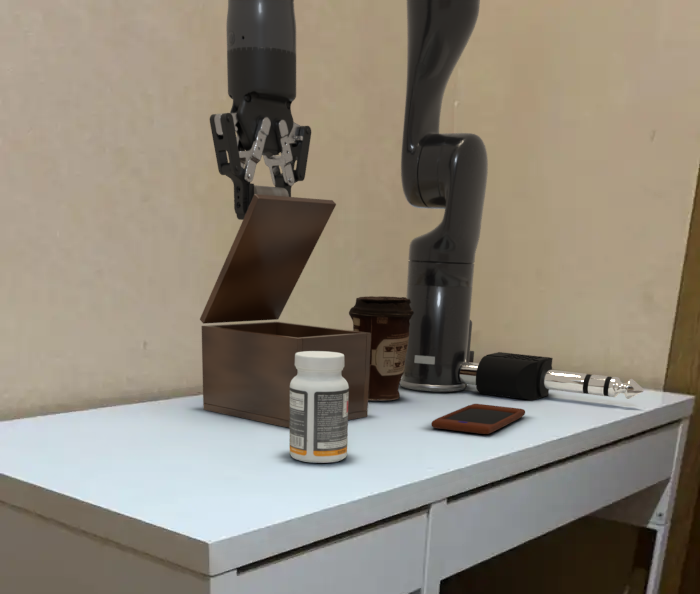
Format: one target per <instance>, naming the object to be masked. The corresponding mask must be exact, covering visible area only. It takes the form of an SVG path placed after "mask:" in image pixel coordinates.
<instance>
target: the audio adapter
mask: <svg viewBox="0 0 700 594" xmlns="http://www.w3.org/2000/svg"><path fill="white" fill-rule="evenodd" d="M459 378H460V382H461V383H462V384H467V385H469V386H470V385H471V386H475V387H476V390H477V392H478V394H481V395H489V396H496V397H505V398H511V399H518V400H519V399H520V400H527V401H535V400H539V399H543V398H544V397H547V396H549V391H557V392H558V391H559V392H568V393H575V394H581V395H582V394H585V395H592V396H599V397H609V398H616V397H618V396H619V394H623V395H624V396H625V399H626V400H630V399H632V398H634V397H636V396H638V395H640V394H642V393H643V392H644V388H643V387H642V386H641V385H640V384H639V383H638V382H637V381H635V380H634V379H633V378H630V379H628V381H627V382H622V381H621V379H620V377H618V376H609V375H603V374H602V375H601V374H594V373H593V374H590V373H585V372H576V371H565V370H556V369H553V357H549V356H539V355H530V354H520V353H513V352H512V353H511V352H504V351H503V352H502V351H498V352H494V353H489V354H486V355H484V356H483V357H482V358H480V360H479V362H473V363H472V362H464V363H463V364H462V366H461V369H460V374H459Z"/></svg>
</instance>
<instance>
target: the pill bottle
mask: <svg viewBox="0 0 700 594" xmlns="http://www.w3.org/2000/svg"><path fill="white" fill-rule="evenodd" d="M295 366H296V369H297V370H298V373H297V376H295V377H294V378H293V379H292V380H291V383H290V428H289V438H288V439H289V440H288V441H289V455H290V456H291V458H292V459H294V460H297V461H299V462H304V463H312V464H329V463H337V462H339V461H342V460H344V459H346V457H347V455H348V435H349V433H348V432H349V431H348V428H349V420H348V395H349V386H348V383H347V381H346V380H345V379H344V378H343V377H342V375H341V371H342V370H343V368H344V354H342V353H337V352H327V351H304V352H297V353H296V354H295Z"/></svg>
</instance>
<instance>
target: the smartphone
mask: <svg viewBox="0 0 700 594" xmlns="http://www.w3.org/2000/svg"><path fill="white" fill-rule="evenodd" d="M525 415H526V410H525V409H523V408H519V407H510V406H500V405H499V406H498V405H494V404H493V405H492V404H483V403H472V404H468V405H466V406H464V407H461V408H459V409H457V410H454V411H451V412H449V413H447V414H444V415H442V416H439V417H438V418H435V419H434V420H431V424H430V425H431V427H432V428H434V429H438V430H439V429H440V430H448V431H457V432H464V433H471V434H480V435H489V434H491V433H494V432H496V431H498V430H500V429H502V428H504V427H505V426H508V425H509V424H511V423H514V422H515V421H517V420H519V419H521V418H522V417H524V416H525Z"/></svg>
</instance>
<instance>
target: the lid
mask: <svg viewBox="0 0 700 594" xmlns="http://www.w3.org/2000/svg"><path fill="white" fill-rule="evenodd" d="M336 206H337V203H336V202H335V201H334V200H332V199H323V198H309V197H296V196H291V197H289V194H288V191H287V190H286V189H285V188H280V187H275V186H267V185H256V184H254V196H253V198H252V201H251V203H250V205H249V208H248V210H247V212H246V214H245V217H244V219H243V220H241V224H240V226H239V228H238V230H237V233H236V235H235V238H234V239H233V242H232V244H231V247H230V249H229V251H228V254H227V256H226V258H225V260H224V263H223V265H222V267H221V270H220V272H219V274H218V276H217V279H216V280H215V282H214V286H213V288H212V290H211V292H210V294H209V297H208V299H207V301H206V304H205V306H204V308H203V310H202V313H201V315H200V318H199V321H200V322H201V323H202V324H203V325H204V324H205V325H206V324H221V323H241V322H242V323H243V322H259V321H277V320H279V319H280V317H281V315H282V314H283V311H284V309H285V307H286V306H287V304H288V301H289V300H290V297H291V296H292V294H293V292H294V289H295V287H296V285H297V283H298V281H299V279H300V278H301V275H302V273H303V271H304V270H305V268H306V265H307V264H308V261H309V259H310V257H311V256H312V254H313V252H314V249H315V247H316V246H317V243H318V242H319V240H320V237H321V236H322V234H323V231H324V230H325V228H326V226H327V223H328V222H329V220H330V217H331V216H332V214H333V212H334V211H335V208H336Z"/></svg>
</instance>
